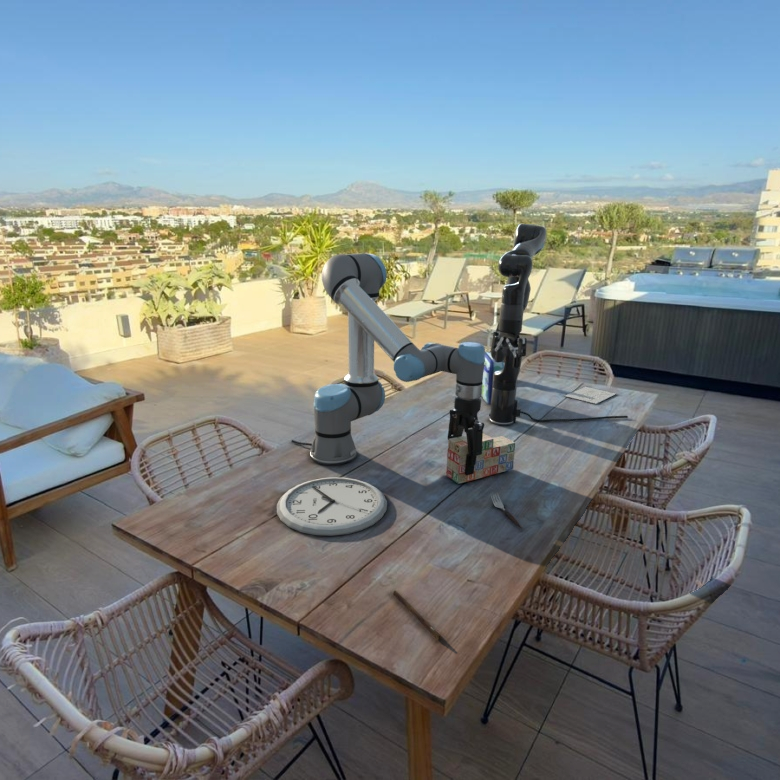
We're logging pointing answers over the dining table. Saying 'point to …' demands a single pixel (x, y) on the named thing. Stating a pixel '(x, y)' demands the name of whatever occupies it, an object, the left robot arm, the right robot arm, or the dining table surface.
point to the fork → (500, 505)
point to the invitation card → (590, 395)
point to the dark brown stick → (416, 614)
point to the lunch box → (489, 376)
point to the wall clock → (331, 506)
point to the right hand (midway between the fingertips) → (506, 365)
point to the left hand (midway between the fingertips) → (462, 469)
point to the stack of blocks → (479, 458)
